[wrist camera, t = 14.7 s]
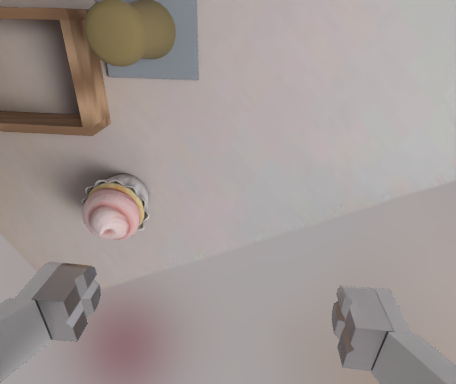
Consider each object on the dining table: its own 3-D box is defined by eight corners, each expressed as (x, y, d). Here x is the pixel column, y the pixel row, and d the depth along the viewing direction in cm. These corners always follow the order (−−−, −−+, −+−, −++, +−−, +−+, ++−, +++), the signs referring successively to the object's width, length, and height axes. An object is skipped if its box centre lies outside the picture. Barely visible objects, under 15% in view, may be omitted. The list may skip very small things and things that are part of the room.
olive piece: (115, 41, 35) (63, 49, 26) (134, -14, 33) (83, -27, 23) (162, 69, 36) (130, 88, 27) (184, 19, 34) (156, 19, 24)
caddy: (-59, 6, 36) (-103, 5, 31) (91, 9, 34) (66, 8, 30) (-17, 117, 42) (-49, 128, 38) (110, 123, 41) (92, 135, 36)
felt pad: (92, -34, 32) (91, -35, 32) (195, -33, 32) (195, -34, 31) (110, 76, 38) (108, 76, 37) (198, 79, 37) (198, 79, 37)
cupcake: (116, 224, 49) (86, 268, 40) (86, 173, 45) (45, 210, 36) (169, 211, 47) (149, 254, 38) (142, 156, 43) (112, 191, 34)
